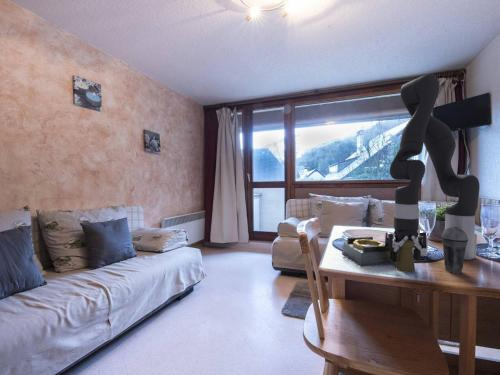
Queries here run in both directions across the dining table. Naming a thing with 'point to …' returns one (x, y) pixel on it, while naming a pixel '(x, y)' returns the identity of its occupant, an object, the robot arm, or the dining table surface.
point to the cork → (405, 257)
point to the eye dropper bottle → (424, 250)
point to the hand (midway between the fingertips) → (405, 260)
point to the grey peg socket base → (367, 252)
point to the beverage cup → (454, 248)
